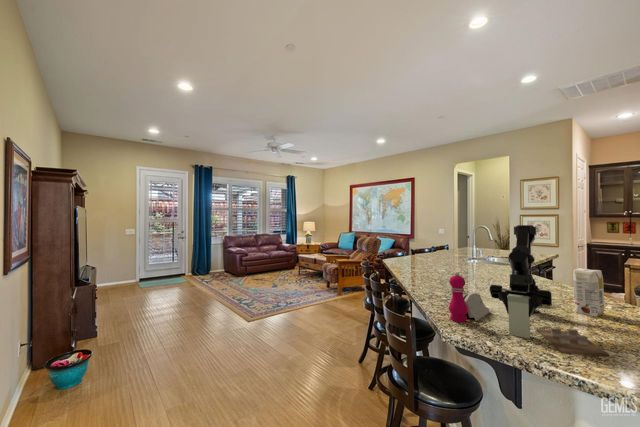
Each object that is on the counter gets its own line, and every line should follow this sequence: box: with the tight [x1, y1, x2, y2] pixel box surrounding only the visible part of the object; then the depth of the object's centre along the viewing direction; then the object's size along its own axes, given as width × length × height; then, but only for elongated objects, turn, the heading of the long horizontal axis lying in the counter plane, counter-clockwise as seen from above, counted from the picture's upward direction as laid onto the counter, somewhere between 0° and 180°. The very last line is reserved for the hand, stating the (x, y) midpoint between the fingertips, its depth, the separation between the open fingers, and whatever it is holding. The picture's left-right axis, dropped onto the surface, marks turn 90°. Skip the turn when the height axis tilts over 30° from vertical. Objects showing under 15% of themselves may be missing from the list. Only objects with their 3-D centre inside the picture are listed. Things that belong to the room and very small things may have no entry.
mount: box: [535, 327, 610, 358], centre depth 97 cm, size 18×12×3 cm, turn 164°
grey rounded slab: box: [463, 292, 491, 322], centre depth 127 cm, size 17×5×10 cm, turn 132°
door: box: [507, 294, 531, 339], centre depth 104 cm, size 3×6×14 cm, turn 50°
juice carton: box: [572, 267, 605, 318], centre depth 124 cm, size 8×9×19 cm
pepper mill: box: [448, 271, 468, 323], centre depth 120 cm, size 7×7×20 cm
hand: (518, 314), depth 102 cm, fingers closed on door, 6 cm apart
